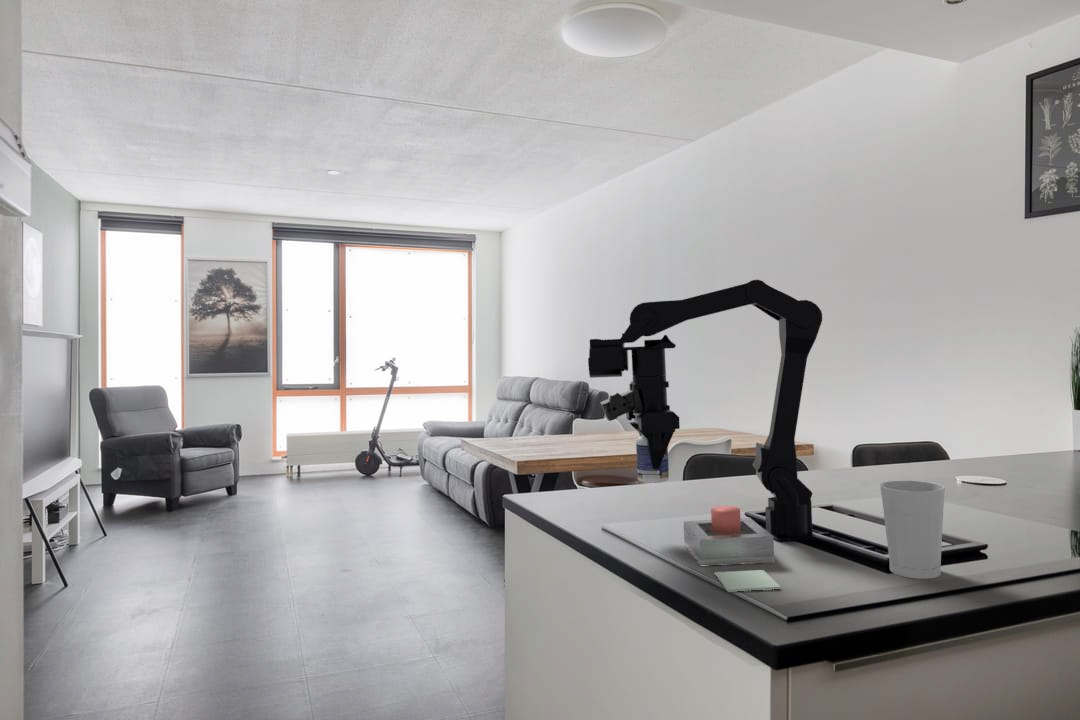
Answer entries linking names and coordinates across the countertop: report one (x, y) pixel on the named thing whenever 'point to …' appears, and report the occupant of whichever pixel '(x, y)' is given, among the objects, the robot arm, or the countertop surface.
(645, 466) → the pill bottle
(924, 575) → the cup
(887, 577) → the countertop surface
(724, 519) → the plunger
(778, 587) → the pad
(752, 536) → the frame
